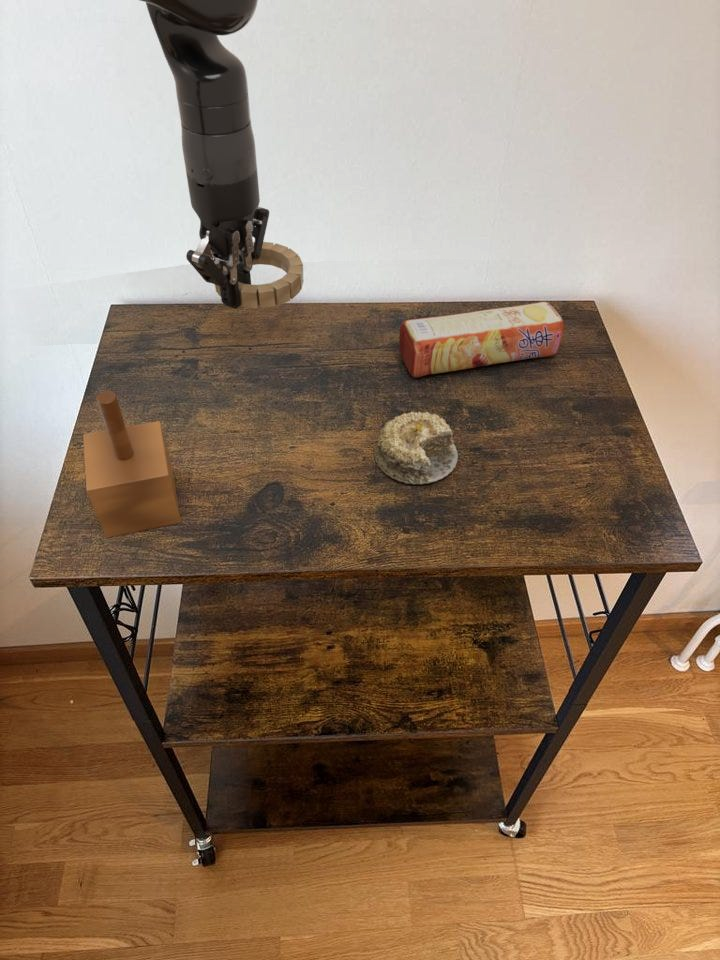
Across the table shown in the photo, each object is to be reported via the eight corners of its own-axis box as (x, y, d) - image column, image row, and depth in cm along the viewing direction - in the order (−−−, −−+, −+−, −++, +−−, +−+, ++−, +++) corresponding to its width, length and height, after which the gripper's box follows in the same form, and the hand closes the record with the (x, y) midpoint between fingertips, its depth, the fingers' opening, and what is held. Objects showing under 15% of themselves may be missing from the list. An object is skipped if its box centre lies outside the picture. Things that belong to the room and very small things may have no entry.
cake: (360, 473, 86) (358, 440, 82) (393, 420, 92) (392, 387, 88) (440, 497, 83) (442, 464, 79) (469, 440, 89) (472, 406, 85)
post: (106, 538, 78) (63, 434, 66) (101, 483, 83) (61, 376, 71) (181, 522, 80) (153, 418, 68) (172, 469, 85) (145, 363, 73)
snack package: (540, 331, 103) (550, 291, 98) (560, 361, 99) (572, 320, 94) (395, 353, 99) (398, 312, 94) (410, 385, 95) (414, 344, 90)
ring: (222, 314, 89) (220, 298, 87) (208, 264, 96) (206, 247, 94) (312, 301, 91) (311, 284, 89) (292, 253, 98) (291, 236, 96)
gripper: (230, 131, 83) (244, 265, 96) (151, 181, 75) (178, 320, 88) (286, 147, 81) (292, 282, 94) (211, 201, 73) (229, 340, 86)
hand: (237, 300), depth 91 cm, fingers closed on ring, 1 cm apart
